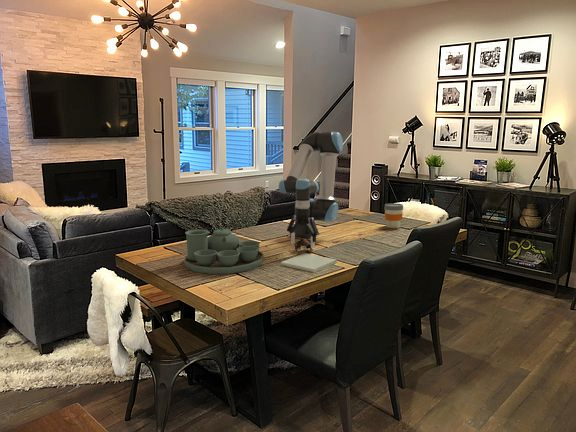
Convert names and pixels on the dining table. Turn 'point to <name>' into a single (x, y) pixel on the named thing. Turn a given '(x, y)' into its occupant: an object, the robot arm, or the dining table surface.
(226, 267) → the tea set
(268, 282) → the dining table surface
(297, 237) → the robot arm
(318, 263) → the sage tile
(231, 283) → the dining table surface
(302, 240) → the pottery mug
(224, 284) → the dining table surface
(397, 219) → the reusable coffee cup
